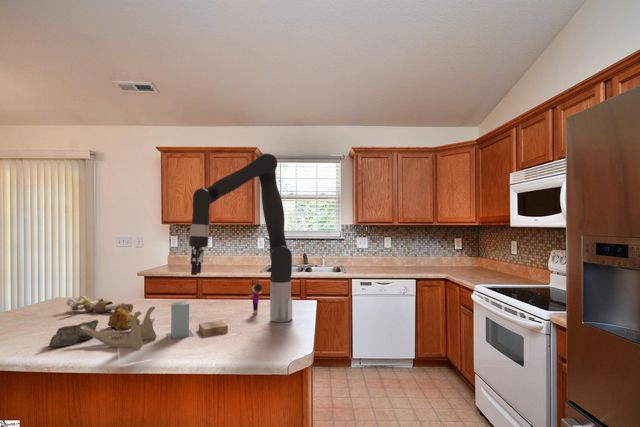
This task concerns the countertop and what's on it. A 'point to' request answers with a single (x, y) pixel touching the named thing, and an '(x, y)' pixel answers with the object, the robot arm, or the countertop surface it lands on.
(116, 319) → the rock
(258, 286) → the toy
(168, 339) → the gray tile
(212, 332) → the stand
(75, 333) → the rock
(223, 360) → the countertop surface
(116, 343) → the jawbone
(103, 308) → the figurine
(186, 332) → the block
